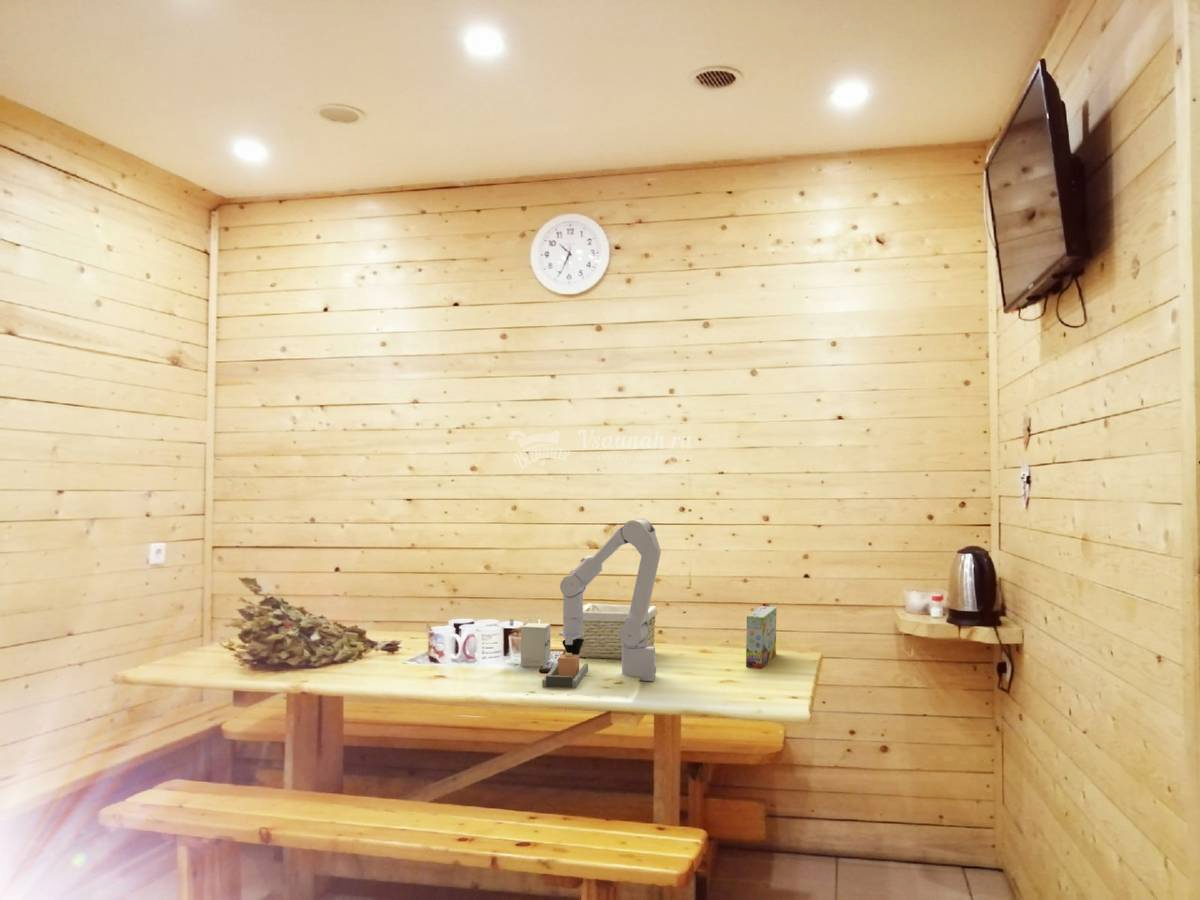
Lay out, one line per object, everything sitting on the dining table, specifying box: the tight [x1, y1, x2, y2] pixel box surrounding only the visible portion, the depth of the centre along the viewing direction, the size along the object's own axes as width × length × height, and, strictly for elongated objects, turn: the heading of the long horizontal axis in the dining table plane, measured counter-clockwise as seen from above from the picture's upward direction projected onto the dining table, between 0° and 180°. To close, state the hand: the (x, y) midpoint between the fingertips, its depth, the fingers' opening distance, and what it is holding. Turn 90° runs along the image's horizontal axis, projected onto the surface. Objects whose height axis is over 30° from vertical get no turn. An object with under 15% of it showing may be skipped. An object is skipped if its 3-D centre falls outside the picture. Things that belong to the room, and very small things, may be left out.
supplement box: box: [520, 622, 551, 668], centre depth 251 cm, size 7×7×13 cm
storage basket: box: [579, 602, 658, 660], centre depth 269 cm, size 24×16×15 cm
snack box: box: [745, 605, 777, 669], centre depth 259 cm, size 21×6×15 cm, turn 158°
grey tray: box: [541, 662, 589, 689], centre depth 233 cm, size 12×20×4 cm, turn 172°
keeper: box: [557, 652, 580, 678], centre depth 237 cm, size 5×5×6 cm
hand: (573, 665), depth 245 cm, fingers closed
